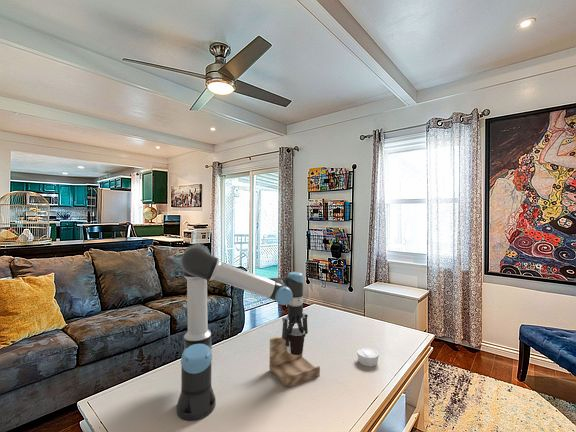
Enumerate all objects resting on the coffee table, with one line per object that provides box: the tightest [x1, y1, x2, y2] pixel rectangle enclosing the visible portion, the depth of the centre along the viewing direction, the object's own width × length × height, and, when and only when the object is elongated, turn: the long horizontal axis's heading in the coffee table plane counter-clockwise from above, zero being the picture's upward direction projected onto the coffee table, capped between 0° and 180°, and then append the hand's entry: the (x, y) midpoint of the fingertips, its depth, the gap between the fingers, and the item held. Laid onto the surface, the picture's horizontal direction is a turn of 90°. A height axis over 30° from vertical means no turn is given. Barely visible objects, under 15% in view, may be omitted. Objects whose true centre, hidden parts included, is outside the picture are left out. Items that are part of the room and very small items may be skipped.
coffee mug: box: [288, 327, 306, 355], centre depth 141 cm, size 12×9×10 cm
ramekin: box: [356, 347, 380, 368], centre depth 152 cm, size 11×11×5 cm
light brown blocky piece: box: [269, 335, 321, 389], centre depth 141 cm, size 19×16×16 cm
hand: (294, 350), depth 141 cm, fingers closed on coffee mug, 6 cm apart
